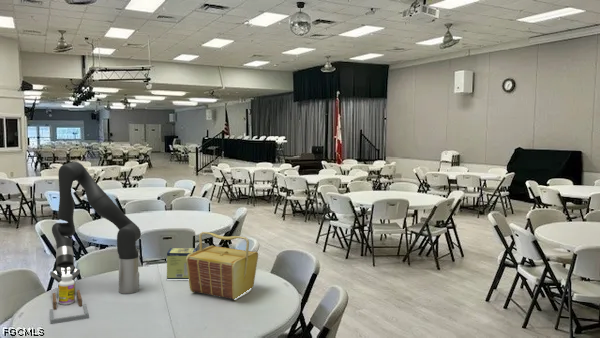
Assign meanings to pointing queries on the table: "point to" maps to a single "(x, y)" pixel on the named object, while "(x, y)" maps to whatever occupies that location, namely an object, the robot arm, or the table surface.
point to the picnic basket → (221, 269)
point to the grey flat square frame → (69, 316)
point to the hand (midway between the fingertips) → (66, 289)
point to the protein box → (178, 262)
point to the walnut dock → (77, 300)
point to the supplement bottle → (66, 289)
